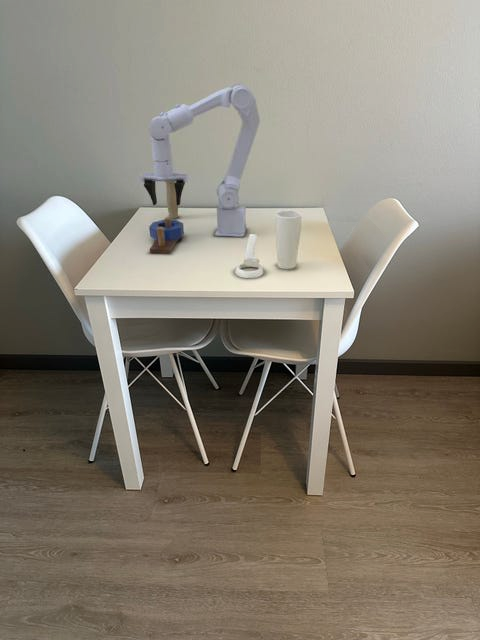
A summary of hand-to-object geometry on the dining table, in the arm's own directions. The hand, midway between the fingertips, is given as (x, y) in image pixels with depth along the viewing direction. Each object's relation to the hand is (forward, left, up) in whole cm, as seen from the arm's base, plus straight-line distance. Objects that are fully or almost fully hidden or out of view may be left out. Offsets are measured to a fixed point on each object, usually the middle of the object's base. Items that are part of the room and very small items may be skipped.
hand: (166, 204), depth 148 cm
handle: (+3, -18, -11) cm, 21 cm away
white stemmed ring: (-29, +27, -11) cm, 41 cm away
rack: (-1, +8, -10) cm, 13 cm away
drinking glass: (-39, +22, -11) cm, 46 cm away
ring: (0, +4, -9) cm, 10 cm away
